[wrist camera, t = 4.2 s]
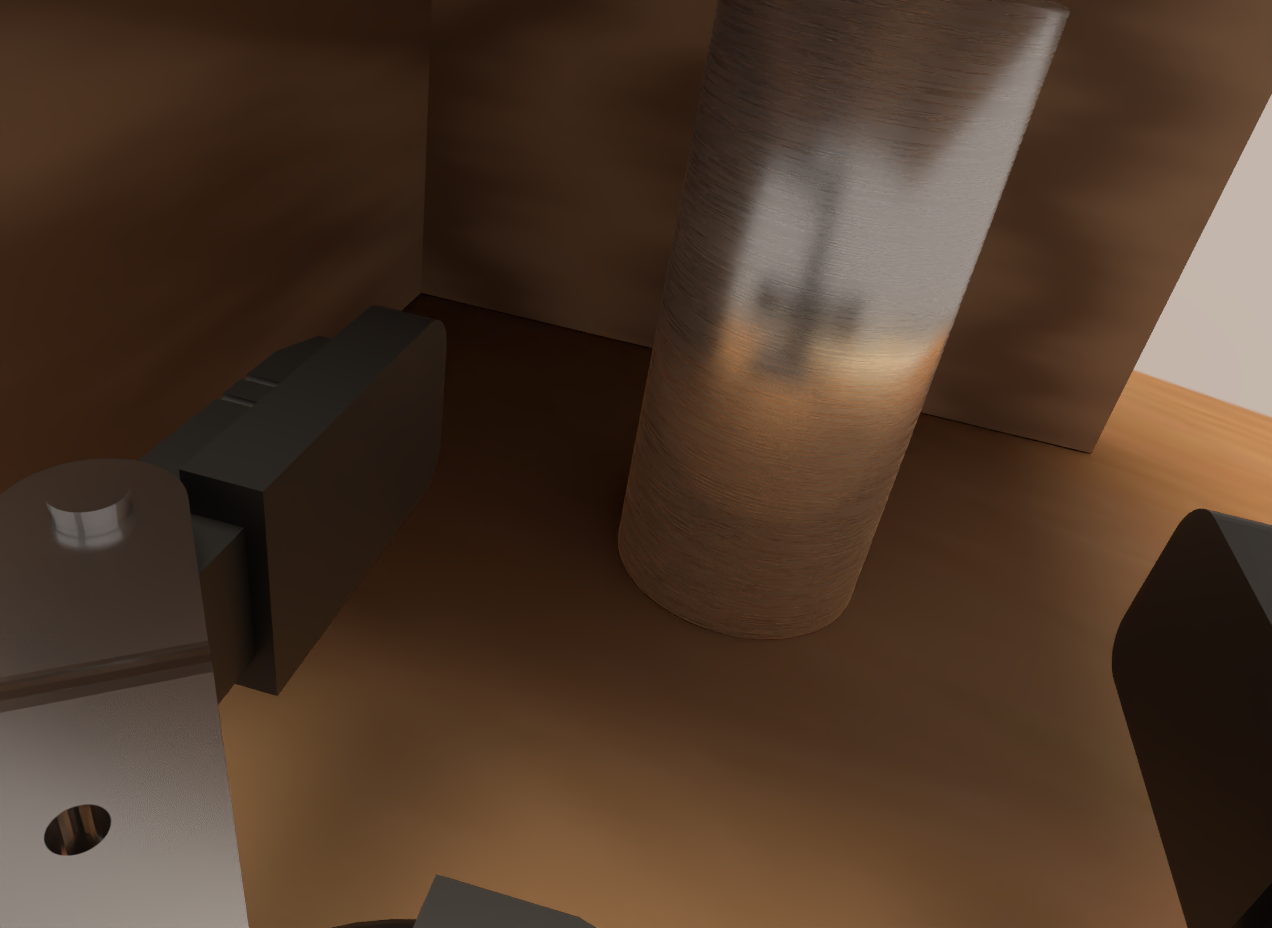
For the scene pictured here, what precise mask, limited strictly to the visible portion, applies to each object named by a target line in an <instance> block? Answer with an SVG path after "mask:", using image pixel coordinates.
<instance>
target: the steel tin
mask: <svg viewBox="0 0 1272 928" xmlns="http://www.w3.org/2000/svg"><path fill="white" fill-rule="evenodd" d="M1070 11H1071V10H1070V9H1069V8H1067V7H1065V6H1063V5H1061V4H1058V3H1056V2H1053V1H1050V0H718V2H717V7H716V13H715V18H714V23H713V29H712V34H711V39H710V45H709V50H708V55H707V61H706V66H705V71H704V77H703V82H702V87H701V93H700V98H699V104H698V109H697V114H696V120H695V125H694V130H693V136H692V141H691V146H690V152H689V157H688V162H687V168H686V173H685V178H684V184H683V189H682V194H681V200H680V205H679V210H678V216H677V221H676V227H675V232H674V237H673V243H672V248H671V253H670V259H669V264H668V269H667V275H666V280H665V285H664V291H663V296H662V301H661V307H660V312H659V317H658V323H657V328H656V333H655V339H654V344H653V350H652V355H651V360H650V366H649V371H648V376H647V382H646V387H645V392H644V398H643V403H642V408H641V414H640V419H639V424H638V430H637V435H636V440H635V446H634V451H633V456H632V462H631V467H630V473H629V478H628V483H627V489H626V494H625V499H624V505H623V510H622V515H621V521H620V526H619V531H618V549H619V554H620V557H621V560H622V563H623V565H624V567H625V569H626V570H627V572H628V574H629V575H630V577H631V578H632V579H633V581H634V582H635V583H636V585H637V586H638V587H639V588H640V589H641V590H642V591H643V592H644V593H645V594H646V595H647V596H649V597H650V598H651V599H652V600H653V601H655V602H656V603H657V604H658V605H660V606H661V607H663V608H665V609H666V610H668V611H669V612H671V613H672V614H674V615H676V616H678V617H680V618H682V619H684V620H686V621H688V622H690V623H693V624H695V625H697V626H700V627H702V628H705V629H708V630H712V631H715V632H718V633H722V634H726V635H731V636H735V637H742V638H750V639H769V640H772V639H787V638H792V637H798V636H802V635H806V634H809V633H812V632H815V631H817V630H819V629H821V628H823V627H826V626H827V625H829V624H830V623H832V622H833V621H834V620H836V619H837V618H838V617H839V616H840V615H841V614H842V613H843V612H844V610H845V609H846V607H847V605H848V604H849V602H850V599H851V596H852V594H853V591H854V588H855V586H856V583H857V580H858V578H859V575H860V572H861V570H862V567H863V564H864V562H865V559H866V556H867V554H868V551H869V548H870V546H871V543H872V540H873V537H874V535H875V532H876V529H877V527H878V524H879V521H880V519H881V516H882V513H883V511H884V508H885V505H886V503H887V500H888V497H889V495H890V492H891V489H892V487H893V484H894V481H895V479H896V476H897V473H898V471H899V468H900V465H901V463H902V460H903V457H904V455H905V452H906V449H907V447H908V444H909V441H910V439H911V436H912V433H913V431H914V428H915V425H916V423H917V420H918V417H919V415H920V412H921V409H922V407H923V404H924V401H925V398H926V396H927V393H928V390H929V388H930V385H931V382H932V380H933V377H934V374H935V372H936V369H937V366H938V364H939V361H940V358H941V356H942V353H943V350H944V348H945V345H946V342H947V340H948V337H949V334H950V332H951V329H952V326H953V324H954V321H955V318H956V316H957V313H958V310H959V308H960V305H961V302H962V300H963V297H964V294H965V292H966V289H967V286H968V284H969V281H970V278H971V276H972V273H973V270H974V268H975V265H976V262H977V259H978V257H979V254H980V251H981V249H982V246H983V243H984V241H985V238H986V235H987V233H988V230H989V227H990V225H991V222H992V219H993V217H994V214H995V211H996V209H997V206H998V203H999V201H1000V198H1001V195H1002V193H1003V190H1004V187H1005V185H1006V182H1007V179H1008V177H1009V174H1010V171H1011V169H1012V166H1013V163H1014V161H1015V158H1016V155H1017V153H1018V150H1019V147H1020V145H1021V142H1022V139H1023V137H1024V134H1025V131H1026V129H1027V126H1028V123H1029V120H1030V118H1031V115H1032V112H1033V110H1034V107H1035V104H1036V102H1037V99H1038V96H1039V94H1040V91H1041V88H1042V86H1043V83H1044V80H1045V78H1046V75H1047V72H1048V70H1049V67H1050V64H1051V62H1052V59H1053V56H1054V54H1055V51H1056V48H1057V46H1058V43H1059V40H1060V38H1061V35H1062V32H1063V30H1064V27H1065V24H1066V22H1067V19H1068V16H1069V14H1070Z"/></svg>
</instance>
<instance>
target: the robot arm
mask: <svg viewBox="0 0 1272 928" xmlns="http://www.w3.org/2000/svg"><path fill="white" fill-rule="evenodd" d="M445 363H446V331H445V327H444V324H443V323H442V322H441V321H440V320H437V319H433V318H429V317H425V316H420V315H416V314H412V313H408V312H404V311H400V310H396V309H392V308H388V307H384V306H379V305H373V306H371V307H369V308H368V309H367V310H365V311H364V312H363V313H362V314H361V315H360V316H358V317H357V318H356V319H355V320H354V321H352V322H351V323H350V324H349V325H348V326H347V327H345V328H344V329H343V330H342V331H341V332H340V333H338V334H337V335H336V336H335V337H334V338H332V339H330V338H326V337H322V336H317V337H314V338H311V339H308V340H306V341H303V342H300V343H297V344H294V345H292V346H289V347H286V348H283V349H280V350H278V351H276V352H274V353H273V354H272V355H270V356H269V357H268V358H267V359H265V360H264V361H263V362H262V363H260V364H259V365H258V366H257V367H255V368H254V369H253V370H251V371H250V372H249V373H248V374H247V378H246V380H245V379H240V380H239V381H238V382H236V383H235V384H234V385H233V386H231V387H230V388H229V389H227V390H226V391H225V392H224V393H223V396H222V399H218V398H216V399H215V400H214V401H212V402H211V403H210V404H208V405H207V406H206V407H205V408H203V409H202V410H201V411H200V412H198V413H197V414H196V415H195V416H193V417H192V418H191V419H190V420H188V421H187V422H186V423H184V424H183V425H182V426H181V427H179V428H178V429H177V430H176V431H174V432H173V433H172V434H171V435H169V436H168V437H167V438H165V439H164V440H163V441H162V442H160V443H159V444H158V445H157V446H155V447H154V448H153V449H152V450H150V451H149V452H148V453H147V454H145V455H144V456H143V457H141V458H140V459H139V460H130V459H119V458H101V459H88V460H81V461H74V462H69V463H65V464H61V465H57V466H54V467H51V468H47V469H44V470H42V471H39V472H37V473H35V474H32V475H30V476H28V477H26V478H24V479H22V480H21V481H19V482H17V483H15V484H14V485H13V486H11V487H10V488H9V489H7V490H6V491H5V492H3V493H2V494H1V496H0V928H249V926H248V919H247V912H246V904H245V897H244V890H243V883H242V875H241V868H240V861H239V854H238V847H237V839H236V832H235V825H234V818H233V811H232V803H231V796H230V789H229V782H228V775H227V767H226V760H225V753H224V746H223V739H222V731H221V724H220V717H219V710H218V704H219V703H220V701H221V700H222V699H223V698H224V696H225V695H226V694H227V693H228V691H229V690H230V689H231V688H232V686H233V685H234V684H238V685H241V686H245V687H248V688H252V689H255V690H259V691H262V692H266V693H269V694H273V695H276V696H278V694H279V693H280V692H281V690H282V689H283V687H284V686H285V685H286V683H287V682H288V681H289V679H290V678H291V676H292V675H293V674H294V672H295V671H296V670H297V668H298V667H299V666H300V664H301V663H302V661H303V660H304V659H305V657H306V656H307V655H308V653H309V652H310V650H311V649H312V648H313V646H314V645H315V644H316V642H317V641H318V640H319V638H320V637H321V635H322V634H323V633H324V631H325V630H326V629H327V627H328V626H329V624H330V623H331V622H332V620H333V619H334V618H335V616H336V615H337V613H338V612H339V611H340V609H341V608H342V607H343V605H344V604H345V603H346V601H347V600H348V598H349V597H350V596H351V594H352V593H353V592H354V590H355V589H356V587H357V586H358V585H359V583H360V582H361V581H362V579H363V578H364V577H365V575H366V574H367V572H368V571H369V570H370V568H371V567H372V566H373V564H374V563H375V561H376V560H377V559H378V557H379V556H380V555H381V553H382V552H383V550H384V549H385V548H386V546H387V545H388V544H389V542H390V541H391V540H392V538H393V537H394V535H395V534H396V533H397V531H398V530H399V529H400V527H401V526H402V524H403V523H404V522H405V520H406V519H407V518H408V516H409V515H410V514H411V512H412V511H413V509H414V508H415V507H416V505H417V504H418V503H419V501H420V500H421V498H422V497H423V496H424V494H425V493H426V491H427V489H428V487H429V485H430V483H431V480H432V478H433V475H434V472H435V469H436V466H437V462H438V458H439V453H440V447H441V436H442V418H443V399H444V381H445ZM1112 673H1113V678H1114V682H1115V685H1116V689H1117V692H1118V695H1119V699H1120V702H1121V706H1122V709H1123V712H1124V716H1125V719H1126V722H1127V726H1128V729H1129V732H1130V736H1131V739H1132V742H1133V746H1134V749H1135V753H1136V756H1137V759H1138V763H1139V766H1140V769H1141V773H1142V776H1143V779H1144V783H1145V786H1146V789H1147V793H1148V796H1149V799H1150V803H1151V806H1152V810H1153V813H1154V816H1155V820H1156V823H1157V826H1158V830H1159V833H1160V836H1161V840H1162V843H1163V846H1164V850H1165V853H1166V857H1167V860H1168V863H1169V867H1170V870H1171V873H1172V877H1173V880H1174V883H1175V887H1176V890H1177V893H1178V897H1179V900H1180V904H1181V907H1182V910H1183V914H1184V917H1185V920H1186V924H1187V927H1188V928H1272V525H1268V524H1264V523H1260V522H1256V521H1252V520H1248V519H1244V518H1240V517H1236V516H1232V515H1228V514H1223V513H1219V512H1215V511H1211V510H1207V509H1196V510H1194V511H1192V512H1190V513H1189V514H1188V515H1187V516H1185V517H1184V519H1183V520H1182V521H1181V522H1180V523H1179V525H1178V526H1177V528H1176V530H1175V531H1174V533H1173V535H1172V536H1171V538H1170V540H1169V541H1168V543H1167V545H1166V546H1165V548H1164V550H1163V551H1162V553H1161V555H1160V556H1159V558H1158V560H1157V561H1156V563H1155V565H1154V567H1153V568H1152V570H1151V572H1150V573H1149V575H1148V577H1147V578H1146V580H1145V582H1144V583H1143V585H1142V587H1141V588H1140V590H1139V592H1138V593H1137V595H1136V597H1135V598H1134V600H1133V602H1132V604H1131V605H1130V607H1129V609H1128V610H1127V612H1126V614H1125V615H1124V617H1123V619H1122V621H1121V623H1120V625H1119V628H1118V631H1117V634H1116V637H1115V641H1114V646H1113V652H1112ZM332 928H596V927H594V926H593V925H591V924H589V923H588V922H586V921H584V920H583V919H581V918H579V917H577V916H574V915H570V914H567V913H564V912H560V911H557V910H554V909H550V908H547V907H544V906H540V905H537V904H534V903H530V902H527V901H524V900H520V899H517V898H514V897H510V896H507V895H504V894H500V893H497V892H494V891H490V890H487V889H484V888H480V887H477V886H474V885H470V884H467V883H464V882H460V881H457V880H454V879H450V878H447V877H444V876H440V875H437V874H436V876H435V879H434V881H433V883H432V885H431V888H430V890H429V892H428V894H427V897H426V899H425V901H424V904H423V906H422V908H421V910H420V913H419V915H418V917H417V919H389V920H378V921H367V922H357V923H351V924H347V925H342V926H337V927H332Z"/></svg>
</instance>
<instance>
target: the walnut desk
mask: <svg viewBox="0 0 1272 928" xmlns="http://www.w3.org/2000/svg"><path fill="white" fill-rule="evenodd" d="M1050 1H1053V2H1056V3H1058V4H1061V5H1063V6H1065V7H1067V8H1069V9H1070V10H1071V11H1070V14H1069V16H1068V19H1067V22H1066V24H1065V27H1064V30H1063V32H1062V35H1061V38H1060V40H1059V43H1058V46H1057V48H1056V51H1055V54H1054V56H1053V59H1052V62H1051V64H1050V67H1049V70H1048V72H1047V75H1046V78H1045V80H1044V83H1043V86H1042V88H1041V91H1040V94H1039V96H1038V99H1037V102H1036V104H1035V107H1034V110H1033V112H1032V115H1031V118H1030V120H1029V123H1028V126H1027V129H1026V131H1025V134H1024V137H1023V139H1022V142H1021V145H1020V147H1019V150H1018V153H1017V155H1016V158H1015V161H1014V163H1013V166H1012V169H1011V171H1010V174H1009V177H1008V179H1007V182H1006V185H1005V187H1004V190H1003V193H1002V195H1001V198H1000V201H999V203H998V206H997V209H996V211H995V214H994V217H993V219H992V222H991V225H990V227H989V230H988V233H987V235H986V238H985V241H984V243H983V246H982V249H981V251H980V254H979V257H978V259H977V262H976V265H975V268H974V270H973V273H972V276H971V278H970V281H969V284H968V286H967V289H966V292H965V294H964V297H963V300H962V302H961V305H960V308H959V310H958V313H957V316H956V318H955V321H954V324H953V326H952V329H951V332H950V334H949V337H948V340H947V342H946V345H945V348H944V350H943V353H942V356H941V358H940V361H939V364H938V366H937V369H936V372H935V374H934V377H933V380H932V382H931V385H930V388H929V390H928V393H927V396H926V398H925V401H924V404H923V407H922V409H921V413H926V414H930V415H934V416H938V417H942V418H947V419H951V420H955V421H959V422H963V423H967V424H972V425H976V426H980V427H984V428H988V429H992V430H997V431H1001V432H1005V433H1009V434H1013V435H1018V436H1022V437H1026V438H1030V439H1034V440H1038V441H1043V442H1047V443H1051V444H1055V445H1059V446H1063V447H1068V448H1072V449H1076V450H1080V451H1084V452H1089V453H1092V451H1093V449H1094V447H1095V445H1096V443H1097V441H1098V439H1099V437H1100V435H1101V433H1102V431H1103V429H1104V427H1105V425H1106V423H1107V421H1108V419H1109V417H1110V415H1111V413H1112V411H1113V409H1114V407H1115V405H1116V403H1117V401H1118V399H1119V397H1120V395H1121V393H1122V391H1123V389H1124V387H1125V385H1126V383H1127V381H1128V379H1129V377H1130V375H1131V373H1132V371H1133V369H1134V367H1135V365H1136V363H1137V361H1138V359H1139V357H1140V355H1141V353H1142V351H1143V349H1144V347H1145V345H1146V343H1147V341H1148V339H1149V337H1150V335H1151V333H1152V331H1153V329H1154V327H1155V325H1156V323H1157V321H1158V319H1159V317H1160V315H1161V313H1162V311H1163V309H1164V307H1165V305H1166V303H1167V301H1168V299H1169V297H1170V295H1171V293H1172V291H1173V289H1174V287H1175V285H1176V283H1177V281H1178V279H1179V277H1180V275H1181V273H1182V271H1183V269H1184V267H1185V265H1186V263H1187V261H1188V259H1189V257H1190V255H1191V253H1192V251H1193V249H1194V247H1195V245H1196V243H1197V241H1198V239H1199V237H1200V235H1201V233H1202V231H1203V229H1204V227H1205V225H1206V224H1207V222H1208V220H1209V218H1210V216H1211V214H1212V212H1213V210H1214V208H1215V205H1216V204H1217V202H1218V200H1219V198H1220V196H1221V194H1222V191H1223V190H1224V188H1225V186H1226V183H1227V181H1228V180H1229V178H1230V176H1231V174H1232V172H1233V169H1234V168H1235V166H1236V164H1237V162H1238V160H1239V158H1240V156H1241V154H1242V152H1243V150H1244V148H1245V146H1246V144H1247V141H1248V140H1249V138H1250V136H1251V134H1252V132H1253V130H1254V128H1255V126H1256V124H1257V122H1258V120H1259V118H1260V116H1261V114H1262V112H1263V110H1264V108H1265V106H1266V104H1267V102H1268V100H1269V98H1270V96H1271V94H1272V0H1050ZM717 2H718V0H0V496H1V494H2V493H3V492H5V491H6V490H7V489H9V488H10V487H11V486H13V485H14V484H15V483H17V482H19V481H21V480H22V479H24V478H26V477H28V476H30V475H32V474H35V473H37V472H39V471H42V470H44V469H47V468H51V467H54V466H57V465H61V464H65V463H69V462H74V461H81V460H88V459H101V458H119V459H130V460H139V459H140V458H141V457H143V456H144V455H145V454H147V453H148V452H149V451H150V450H152V449H153V448H154V447H155V446H157V445H158V444H159V443H160V442H162V441H163V440H164V439H165V438H167V437H168V436H169V435H171V434H172V433H173V432H174V431H176V430H177V429H178V428H179V427H181V426H182V425H183V424H184V423H186V422H187V421H188V420H190V419H191V418H192V417H193V416H195V415H196V414H197V413H198V412H200V411H201V410H202V409H203V408H205V407H206V406H207V405H208V404H210V403H211V402H212V401H214V400H215V399H216V398H218V399H222V396H223V393H224V392H225V391H226V390H227V389H229V388H230V387H231V386H233V385H234V384H235V383H236V382H238V381H239V380H240V379H245V380H246V378H247V374H248V373H249V372H250V371H251V370H253V369H254V368H255V367H257V366H258V365H259V364H260V363H262V362H263V361H264V360H265V359H267V358H268V357H269V356H270V355H272V354H273V353H274V352H276V351H278V350H280V349H283V348H286V347H289V346H292V345H294V344H297V343H300V342H303V341H306V340H308V339H311V338H314V337H317V336H322V337H326V338H330V339H332V338H334V337H335V336H336V335H337V334H338V333H340V332H341V331H342V330H343V329H344V328H345V327H347V326H348V325H349V324H350V323H351V322H352V321H354V320H355V319H356V318H357V317H358V316H360V315H361V314H362V313H363V312H364V311H365V310H367V309H368V308H369V307H371V306H373V305H379V306H384V307H388V308H392V309H396V310H400V311H402V310H403V309H404V308H405V307H406V306H407V305H408V304H409V303H410V302H411V301H413V300H414V299H415V298H416V297H417V296H418V295H419V294H420V293H424V294H429V295H433V296H437V297H441V298H445V299H449V300H454V301H458V302H462V303H466V304H470V305H475V306H479V307H483V308H487V309H491V310H495V311H500V312H504V313H508V314H512V315H516V316H520V317H525V318H529V319H533V320H537V321H541V322H546V323H550V324H554V325H558V326H562V327H566V328H571V329H575V330H579V331H583V332H587V333H591V334H596V335H600V336H604V337H608V338H612V339H617V340H621V341H625V342H629V343H633V344H637V345H642V346H646V347H650V348H653V344H654V339H655V333H656V328H657V323H658V317H659V312H660V307H661V301H662V296H663V291H664V285H665V280H666V275H667V269H668V264H669V259H670V253H671V248H672V243H673V237H674V232H675V227H676V221H677V216H678V210H679V205H680V200H681V194H682V189H683V184H684V178H685V173H686V168H687V162H688V157H689V152H690V146H691V141H692V136H693V130H694V125H695V120H696V114H697V109H698V104H699V98H700V93H701V87H702V82H703V77H704V71H705V66H706V61H707V55H708V50H709V45H710V39H711V34H712V29H713V23H714V18H715V13H716V7H717Z"/></svg>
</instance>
